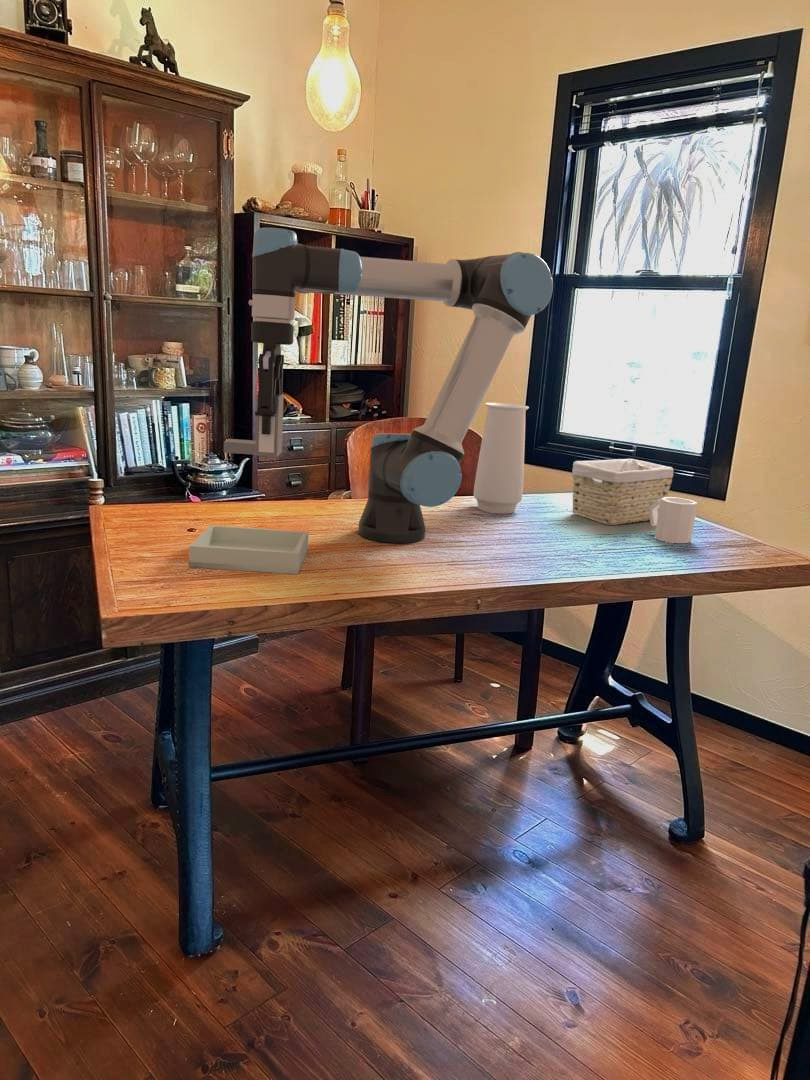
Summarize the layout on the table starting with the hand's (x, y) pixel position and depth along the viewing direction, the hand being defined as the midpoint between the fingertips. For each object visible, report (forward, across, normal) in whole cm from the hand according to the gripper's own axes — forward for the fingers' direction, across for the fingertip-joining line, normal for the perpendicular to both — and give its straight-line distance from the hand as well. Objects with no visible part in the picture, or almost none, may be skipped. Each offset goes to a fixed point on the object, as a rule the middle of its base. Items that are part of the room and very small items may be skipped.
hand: (269, 449), depth 144 cm
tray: (+22, 0, -3) cm, 22 cm away
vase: (+22, -59, +52) cm, 82 cm away
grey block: (+1, 0, -3) cm, 3 cm away
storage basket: (+22, -60, +85) cm, 107 cm away
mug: (+22, -40, +92) cm, 103 cm away
